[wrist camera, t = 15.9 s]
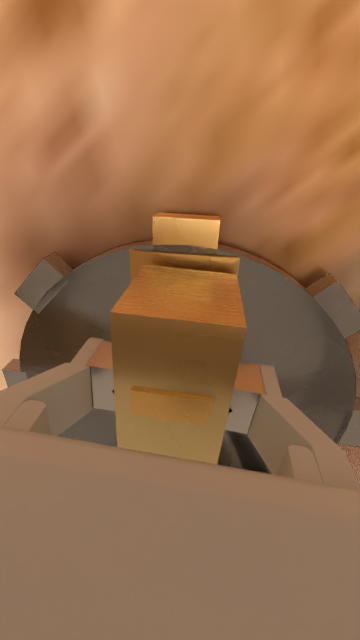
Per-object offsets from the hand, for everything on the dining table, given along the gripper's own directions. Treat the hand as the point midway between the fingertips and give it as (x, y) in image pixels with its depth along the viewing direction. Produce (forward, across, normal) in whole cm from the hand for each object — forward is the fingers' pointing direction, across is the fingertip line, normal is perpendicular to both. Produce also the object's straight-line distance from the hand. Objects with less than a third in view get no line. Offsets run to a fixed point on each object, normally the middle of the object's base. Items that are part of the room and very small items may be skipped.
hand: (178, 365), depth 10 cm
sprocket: (+5, 0, +5) cm, 7 cm away
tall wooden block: (+2, 0, 0) cm, 2 cm away
